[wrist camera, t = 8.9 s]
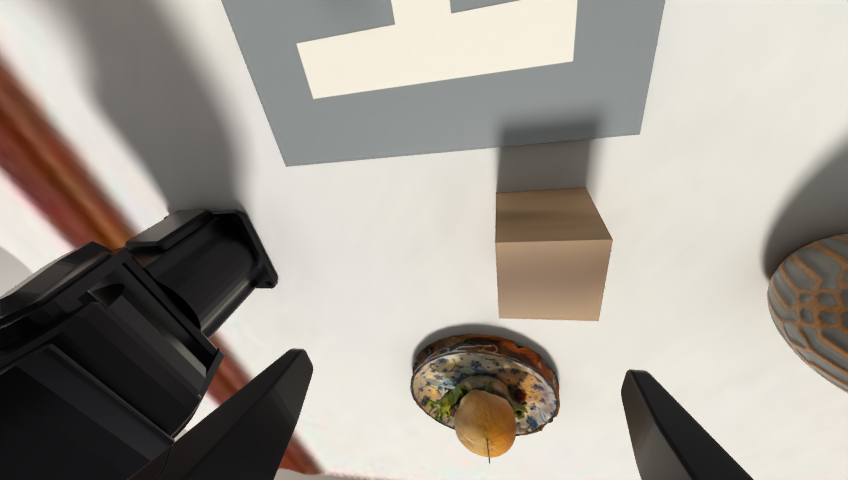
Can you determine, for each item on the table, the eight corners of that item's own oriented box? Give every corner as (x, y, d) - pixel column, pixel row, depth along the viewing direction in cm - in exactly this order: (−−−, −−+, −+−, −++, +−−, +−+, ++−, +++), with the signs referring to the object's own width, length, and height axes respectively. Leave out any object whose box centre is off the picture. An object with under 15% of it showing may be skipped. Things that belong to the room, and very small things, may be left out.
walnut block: (577, 257, 19) (598, 321, 15) (499, 258, 20) (499, 318, 16) (585, 187, 17) (612, 239, 13) (496, 192, 18) (495, 242, 14)
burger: (391, 379, 30) (364, 470, 24) (461, 307, 24) (447, 407, 17) (499, 434, 32) (499, 532, 26) (592, 381, 25) (622, 496, 19)
